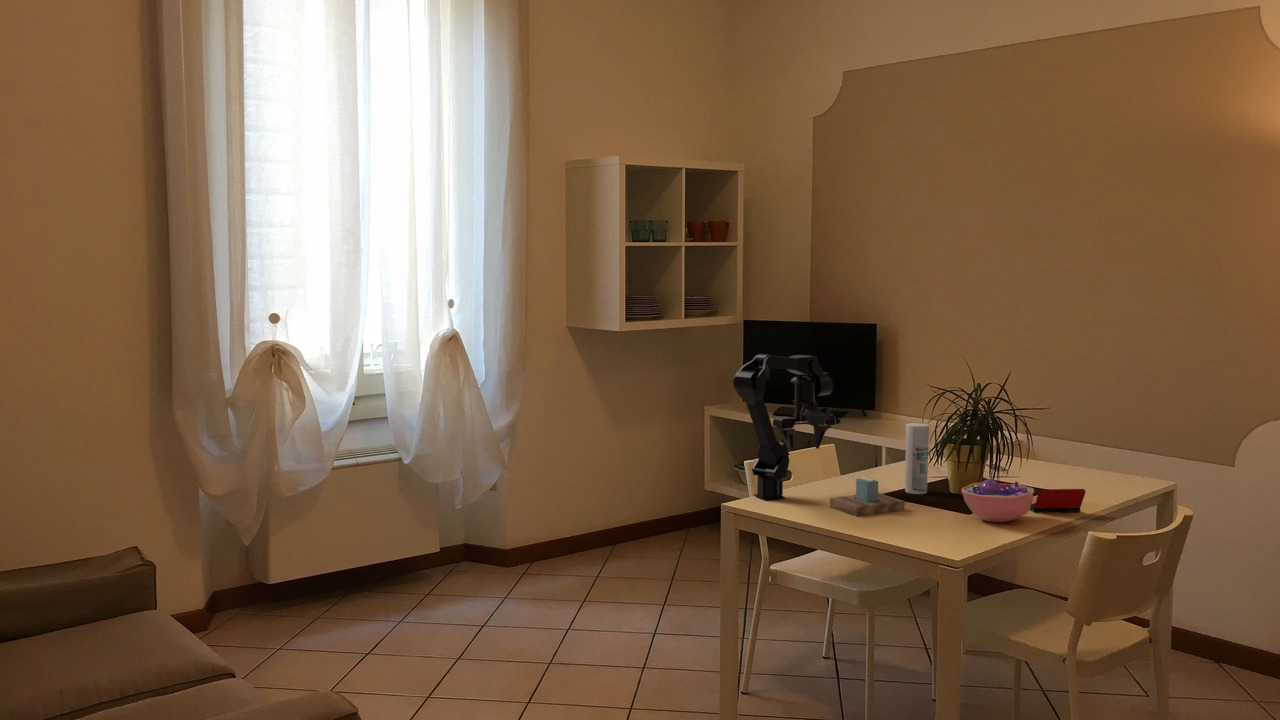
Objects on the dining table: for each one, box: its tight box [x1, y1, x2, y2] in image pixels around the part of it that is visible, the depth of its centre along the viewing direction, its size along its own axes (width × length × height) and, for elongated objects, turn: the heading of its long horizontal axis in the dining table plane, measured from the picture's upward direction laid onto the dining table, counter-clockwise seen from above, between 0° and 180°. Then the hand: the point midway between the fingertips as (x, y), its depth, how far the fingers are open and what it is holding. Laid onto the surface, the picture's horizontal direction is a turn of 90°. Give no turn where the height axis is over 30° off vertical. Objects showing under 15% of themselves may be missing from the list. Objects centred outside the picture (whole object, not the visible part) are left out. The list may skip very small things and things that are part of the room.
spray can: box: [904, 422, 930, 495], centre depth 297 cm, size 6×6×20 cm
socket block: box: [829, 492, 906, 517], centre depth 277 cm, size 16×12×2 cm
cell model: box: [961, 478, 1035, 523], centre depth 264 cm, size 17×20×11 cm
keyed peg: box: [855, 476, 879, 503], centre depth 277 cm, size 5×4×8 cm
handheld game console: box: [1029, 488, 1087, 514], centre depth 273 cm, size 12×11×7 cm
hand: (804, 449), depth 301 cm, fingers open, 9 cm apart
